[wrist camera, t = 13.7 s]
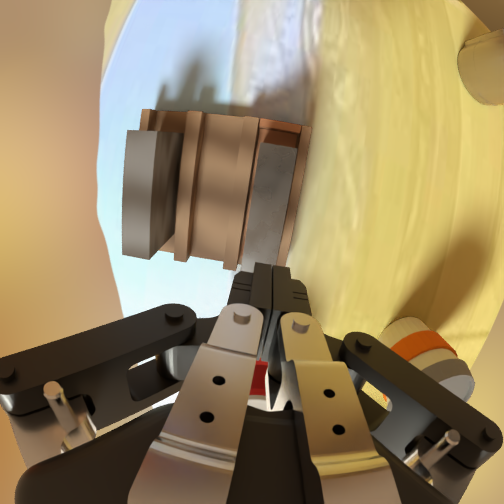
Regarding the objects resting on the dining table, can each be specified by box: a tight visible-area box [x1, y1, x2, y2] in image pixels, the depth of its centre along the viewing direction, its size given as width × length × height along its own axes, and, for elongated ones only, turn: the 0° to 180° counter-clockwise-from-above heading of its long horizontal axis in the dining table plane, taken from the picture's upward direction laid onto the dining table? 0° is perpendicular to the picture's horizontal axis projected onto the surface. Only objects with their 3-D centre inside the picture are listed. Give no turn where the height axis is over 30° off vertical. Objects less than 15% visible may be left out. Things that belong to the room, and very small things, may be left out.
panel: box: [241, 142, 297, 273], centre depth 27 cm, size 12×3×8 cm, turn 171°
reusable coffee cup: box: [378, 317, 475, 412], centre depth 32 cm, size 13×13×15 cm
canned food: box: [247, 351, 268, 411], centre depth 37 cm, size 8×8×11 cm
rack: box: [122, 109, 312, 271], centre depth 28 cm, size 17×18×10 cm
